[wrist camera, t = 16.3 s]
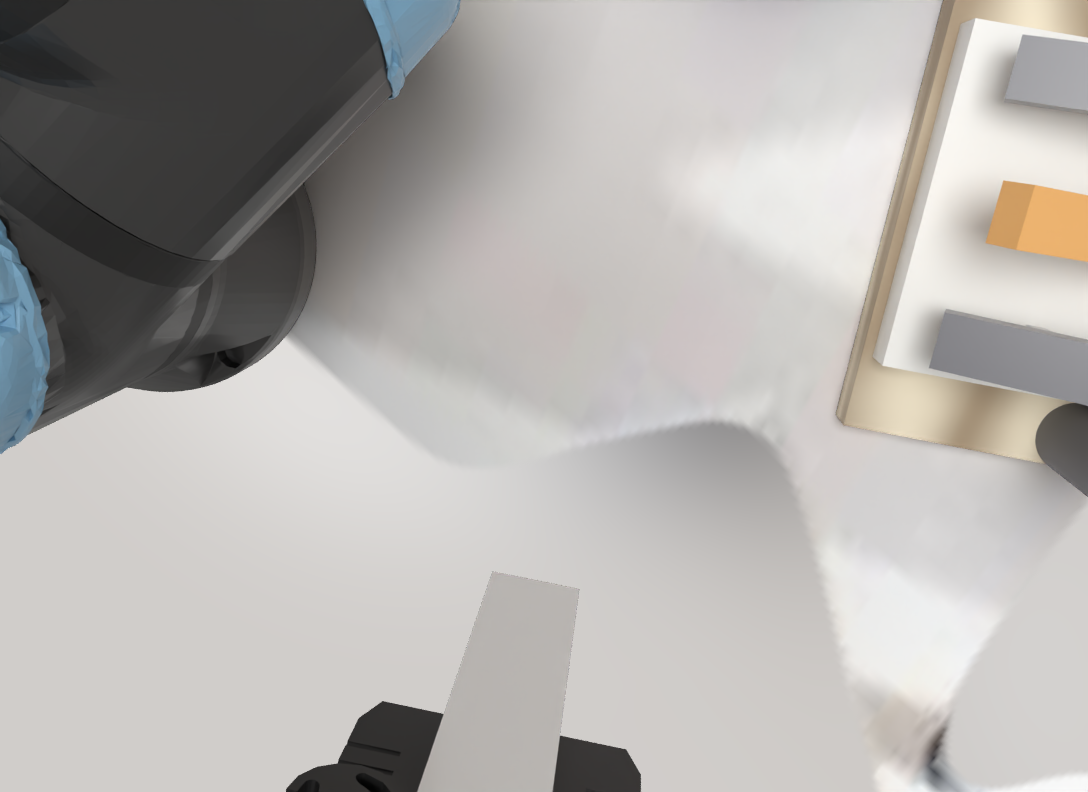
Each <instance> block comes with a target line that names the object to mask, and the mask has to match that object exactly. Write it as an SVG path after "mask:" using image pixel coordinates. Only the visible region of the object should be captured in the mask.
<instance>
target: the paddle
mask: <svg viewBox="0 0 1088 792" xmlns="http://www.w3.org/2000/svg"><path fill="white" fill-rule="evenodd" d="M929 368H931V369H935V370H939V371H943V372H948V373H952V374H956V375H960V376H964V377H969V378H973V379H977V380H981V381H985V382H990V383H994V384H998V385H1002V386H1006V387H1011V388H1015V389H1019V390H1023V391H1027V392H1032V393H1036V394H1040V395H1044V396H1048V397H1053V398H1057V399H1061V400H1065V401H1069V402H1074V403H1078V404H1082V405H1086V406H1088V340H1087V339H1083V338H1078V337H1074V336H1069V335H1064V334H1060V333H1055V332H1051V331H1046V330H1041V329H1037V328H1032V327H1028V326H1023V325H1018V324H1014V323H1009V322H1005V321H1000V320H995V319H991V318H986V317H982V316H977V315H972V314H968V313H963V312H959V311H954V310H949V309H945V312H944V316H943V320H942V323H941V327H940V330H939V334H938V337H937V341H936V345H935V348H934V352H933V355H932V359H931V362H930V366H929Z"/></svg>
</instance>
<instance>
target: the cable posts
mask: <svg viewBox="0 0 1088 792" xmlns="http://www.w3.org/2000/svg"><path fill="white" fill-rule="evenodd" d="M1035 444H1036V449H1037V452H1038V454H1039V456H1040V458H1041V459H1042V460H1043V461H1044V462H1045V463H1046V464H1047V465H1048V466H1049V467H1051V468H1052V469H1053V470H1054V471H1056V472H1057V473H1058V474H1060V475H1061V476H1062V477H1063V478H1065V479H1066V480H1067V481H1068V482H1070V483H1071V484H1072V485H1074V486H1075V487H1076V488H1077V489H1079V490H1080V491H1081V492H1083V493H1084V494H1085V495H1086V496H1088V406H1086V405H1082V404H1078V403H1069V404H1065V405H1062V406H1059V407H1057V408H1055V409H1054V410H1052V411H1051V412H1050V413H1048V414H1047V415H1046V416H1045V417H1044V419H1043V420H1042V421H1041V423H1040V425H1039V426H1038V429H1037V432H1036V438H1035Z"/></svg>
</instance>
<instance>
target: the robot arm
mask: <svg viewBox="0 0 1088 792" xmlns="http://www.w3.org/2000/svg"><path fill="white" fill-rule="evenodd" d="M459 7H460V0H0V454H2V453H3V452H4V451H5V450H6V449H8V448H10V447H12V446H15V445H16V444H18V443H19V442H21V441H22V440H23V439H24V438H25V437H26V436H27V435H29V434H31V433H33V432H35V431H37V430H39V429H41V428H43V427H45V426H47V425H49V424H52V423H54V422H56V421H58V420H59V419H62V418H64V417H66V416H68V415H70V414H72V413H74V412H76V411H78V410H80V409H82V408H84V407H86V406H89V405H91V404H93V403H95V402H97V401H99V400H101V399H103V398H105V397H107V396H109V395H111V394H113V393H115V392H117V391H120V390H122V389H124V388H126V387H128V388H134V389H141V390H147V391H158V392H175V391H185V390H192V389H197V388H201V387H205V386H209V385H212V384H216V383H218V382H221V381H223V380H225V379H228V378H230V377H232V376H234V375H236V374H237V373H239V372H241V371H243V370H244V369H246V368H248V367H250V366H251V365H253V364H254V363H256V362H258V361H259V360H261V359H262V358H263V357H264V356H266V355H267V354H268V353H270V352H271V351H272V350H273V349H274V348H275V347H276V346H277V345H278V344H279V343H280V342H281V341H282V340H283V338H284V337H285V336H286V335H287V334H288V332H289V331H290V330H291V328H292V327H293V325H294V324H295V322H296V320H297V319H298V317H299V315H300V313H301V311H302V309H303V307H304V304H305V302H306V300H307V297H308V294H309V291H310V288H311V284H312V279H313V275H314V268H315V259H316V235H315V226H314V219H313V214H312V209H311V206H310V202H309V199H308V196H307V193H306V190H305V187H304V185H303V183H304V182H305V181H306V180H307V179H308V178H309V177H310V176H311V175H312V174H313V173H314V172H315V171H316V170H317V169H318V168H319V167H320V166H321V165H322V164H323V163H324V162H325V161H326V160H327V159H328V158H329V157H330V156H331V155H332V154H333V153H334V152H335V151H336V150H337V149H338V148H339V147H340V146H341V145H342V144H343V143H344V141H345V140H346V139H347V138H348V137H349V136H350V135H351V134H352V133H353V132H354V131H355V130H356V129H357V128H358V127H359V126H360V125H361V124H362V123H363V122H364V121H365V120H366V119H367V118H368V117H369V116H370V115H371V114H372V113H373V112H374V111H375V110H376V109H377V108H378V107H379V106H380V105H381V104H382V103H383V102H384V101H385V100H386V99H388V100H390V99H394V98H395V97H397V96H398V95H399V94H400V93H399V92H400V90H401V88H403V86H404V82H405V77H406V76H407V75H408V74H409V73H410V72H411V71H412V69H413V68H414V67H415V66H416V65H417V64H418V63H419V62H420V61H421V59H422V58H423V57H424V56H425V55H426V54H427V53H428V52H429V50H430V49H431V48H432V47H433V46H434V45H435V44H436V43H437V42H438V40H439V39H440V38H441V37H442V36H443V35H444V34H445V33H446V31H447V30H448V29H449V28H450V27H451V25H452V23H453V22H454V20H455V18H456V16H457V14H458V11H459ZM578 595H579V589H577V588H572V587H567V586H562V585H557V584H552V583H547V582H542V581H538V580H533V579H528V578H523V577H518V576H513V575H508V574H503V573H498V572H492V574H491V577H490V580H489V583H488V586H487V589H486V592H485V595H484V598H483V601H482V603H481V606H480V609H479V612H478V615H477V618H476V621H475V624H474V627H473V630H472V633H471V636H470V639H469V642H468V645H467V647H466V650H465V653H464V656H463V659H462V662H461V665H460V668H459V671H458V674H457V677H456V680H455V683H454V686H453V688H452V691H451V694H450V698H449V700H448V703H447V706H446V709H445V712H444V714H441V713H436V712H431V711H427V710H422V709H417V708H412V707H408V706H403V705H398V704H393V703H388V702H384V701H382V702H381V703H380V704H378V705H377V706H375V707H374V708H373V709H371V710H370V711H369V712H367V713H366V714H364V715H363V716H361V717H360V718H359V719H358V721H357V723H356V725H355V728H354V729H353V731H352V733H351V735H350V737H349V739H348V743H347V745H346V746H345V748H344V750H343V752H342V754H341V756H340V758H339V761H338V764H332V765H326V766H320V767H316V768H313V769H311V770H309V771H307V772H305V773H303V774H301V775H299V776H298V777H297V778H296V779H295V780H294V781H293V782H292V783H291V784H290V785H289V786H288V788H287V789H286V792H641V774H640V773H639V771H638V769H637V768H636V766H635V764H634V762H633V761H632V759H631V757H630V755H629V754H628V752H627V750H626V749H621V748H616V747H611V746H606V745H602V744H597V743H592V742H588V741H582V740H578V739H573V738H568V737H563V736H560V730H561V724H562V716H563V709H564V701H565V693H566V685H567V678H568V670H569V663H570V655H571V648H572V641H573V633H574V625H575V618H576V610H577V603H578Z"/></svg>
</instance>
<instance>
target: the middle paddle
mask: <svg viewBox="0 0 1088 792" xmlns="http://www.w3.org/2000/svg"><path fill="white" fill-rule="evenodd" d="M986 243H987V244H992V245H996V246H1000V247H1005V248H1009V249H1014V250H1019V251H1025V252H1031V253H1037V254H1043V255H1049V256H1055V257H1061V258H1067V259H1073V260H1079V261H1085V262H1088V195H1083V194H1078V193H1073V192H1068V191H1063V190H1058V189H1053V188H1048V187H1043V186H1038V185H1032V184H1025V183H1018V182H1011V181H1004V180H1003V183H1002V187H1001V190H1000V194H999V197H998V201H997V204H996V208H995V211H994V215H993V218H992V222H991V225H990V229H989V232H988V236H987V239H986Z"/></svg>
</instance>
